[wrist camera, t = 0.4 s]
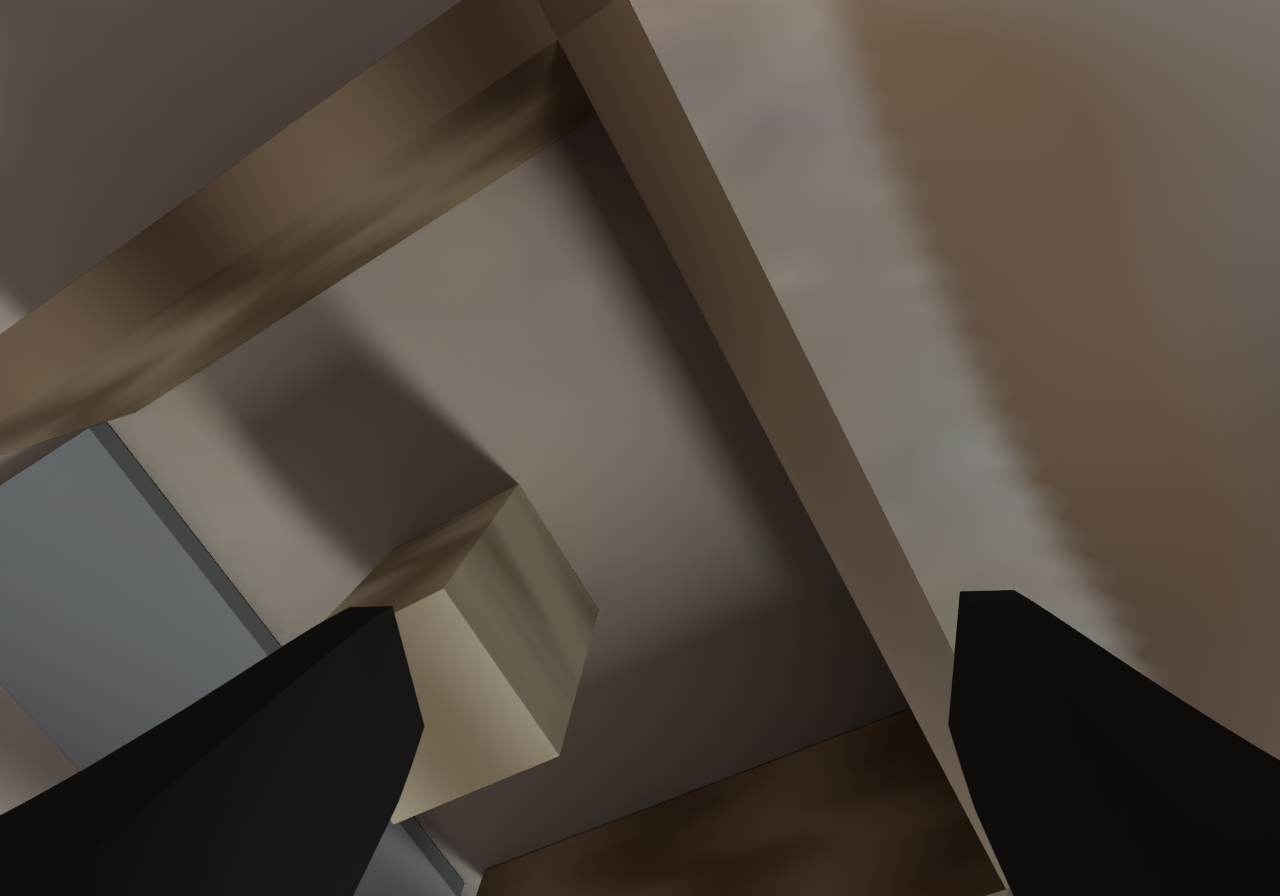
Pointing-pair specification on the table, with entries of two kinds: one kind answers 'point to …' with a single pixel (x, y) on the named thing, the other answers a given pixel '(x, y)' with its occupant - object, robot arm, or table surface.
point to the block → (484, 645)
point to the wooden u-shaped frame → (739, 319)
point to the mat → (135, 623)
